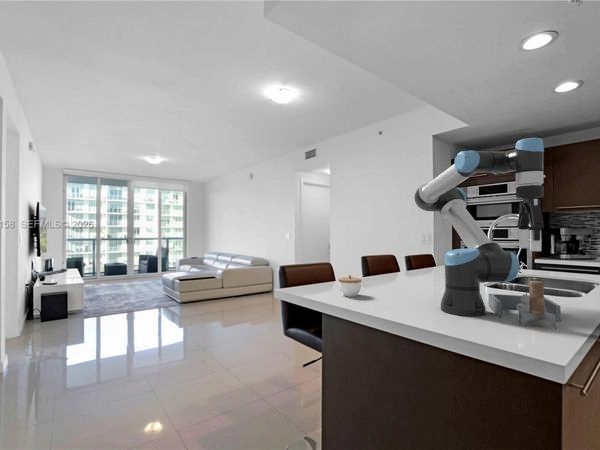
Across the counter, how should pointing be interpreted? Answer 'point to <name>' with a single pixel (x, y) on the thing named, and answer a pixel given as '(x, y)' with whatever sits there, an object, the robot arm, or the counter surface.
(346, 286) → the lidded jar
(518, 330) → the counter surface
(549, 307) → the box
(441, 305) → the robot arm
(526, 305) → the rubber duck
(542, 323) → the scraper
